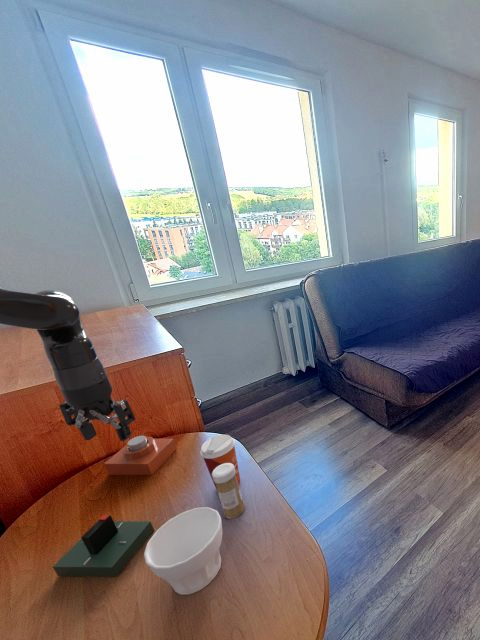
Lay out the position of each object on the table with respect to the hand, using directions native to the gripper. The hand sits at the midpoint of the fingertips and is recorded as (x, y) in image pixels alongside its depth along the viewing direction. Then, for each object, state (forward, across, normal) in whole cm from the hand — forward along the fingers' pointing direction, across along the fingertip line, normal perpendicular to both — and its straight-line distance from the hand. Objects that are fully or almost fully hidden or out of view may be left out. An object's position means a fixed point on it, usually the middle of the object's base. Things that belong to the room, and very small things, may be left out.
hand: (108, 438), depth 79 cm
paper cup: (+19, +23, +4) cm, 30 cm away
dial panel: (+18, +7, -14) cm, 24 cm away
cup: (+19, +29, -18) cm, 39 cm away
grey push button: (+13, -6, +11) cm, 18 cm away
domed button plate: (+18, -6, +11) cm, 22 cm away
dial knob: (+15, +7, -14) cm, 22 cm away
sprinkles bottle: (+19, +29, -4) cm, 35 cm away
